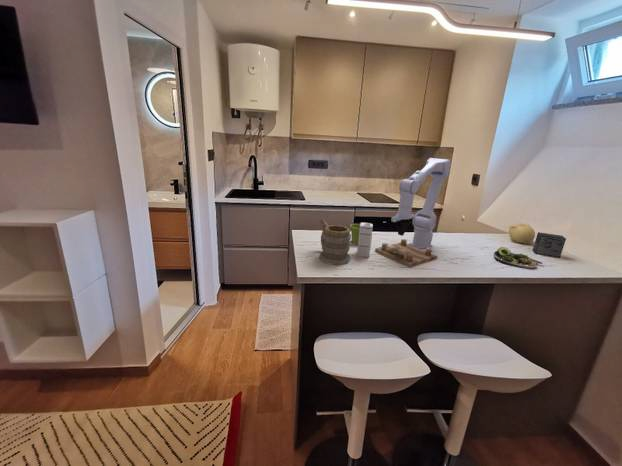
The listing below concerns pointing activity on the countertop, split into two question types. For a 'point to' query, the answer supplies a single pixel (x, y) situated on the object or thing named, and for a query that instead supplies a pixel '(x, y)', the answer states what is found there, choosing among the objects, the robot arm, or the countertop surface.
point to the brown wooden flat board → (408, 254)
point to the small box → (549, 245)
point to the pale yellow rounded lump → (521, 233)
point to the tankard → (335, 244)
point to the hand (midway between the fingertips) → (400, 234)
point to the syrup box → (364, 239)
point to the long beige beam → (393, 249)
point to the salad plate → (514, 258)
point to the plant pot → (355, 232)
